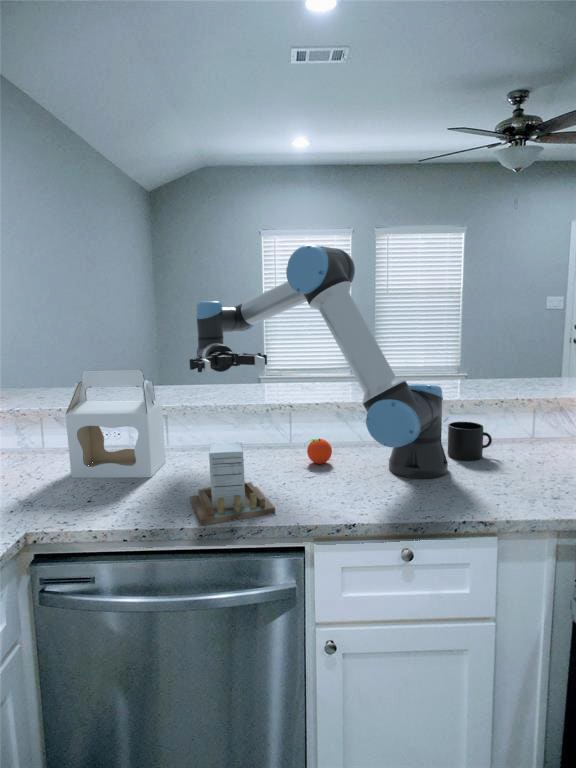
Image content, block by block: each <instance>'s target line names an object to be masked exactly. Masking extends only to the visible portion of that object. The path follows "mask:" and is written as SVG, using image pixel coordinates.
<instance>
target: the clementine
mask: <svg viewBox="0 0 576 768" xmlns="http://www.w3.org/2000/svg"><path fill="white" fill-rule="evenodd" d="M308 442H310V443H309V444H308V446H307V450H306V453H307V456H308V458H309V460H310V461H311V462H312V463H315V464H318V465H322V464H325V463H327V462H328V461H329V460H330V459H331V457H332V455H333V453H332V452H333V450H332V446H331V444H330V443H329V442H328V441H327V440H326V439H324V438H323V439H322V438H312V439H310V440H308V441H307V443H308ZM305 445H306V444H304V447H305Z"/></svg>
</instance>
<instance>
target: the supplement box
mask: <svg viewBox="0 0 576 768" xmlns="http://www.w3.org/2000/svg"><path fill="white" fill-rule="evenodd" d="M208 450H209V451H208V453H209V454H208V457H209V458H208V460H209V473H210V475H209V476H210V487H211V495H212V505H213V507H214V509H218V503H217V499H218V498H224V507H225V508H234V496H235V495H240V498H241V507H245V483H246V482H245V464H244V462H245V460H244V450H243V442H225V443H224V442H223V443H222V442H221V443H210V444H209V449H208ZM244 482H245V483H244Z"/></svg>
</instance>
